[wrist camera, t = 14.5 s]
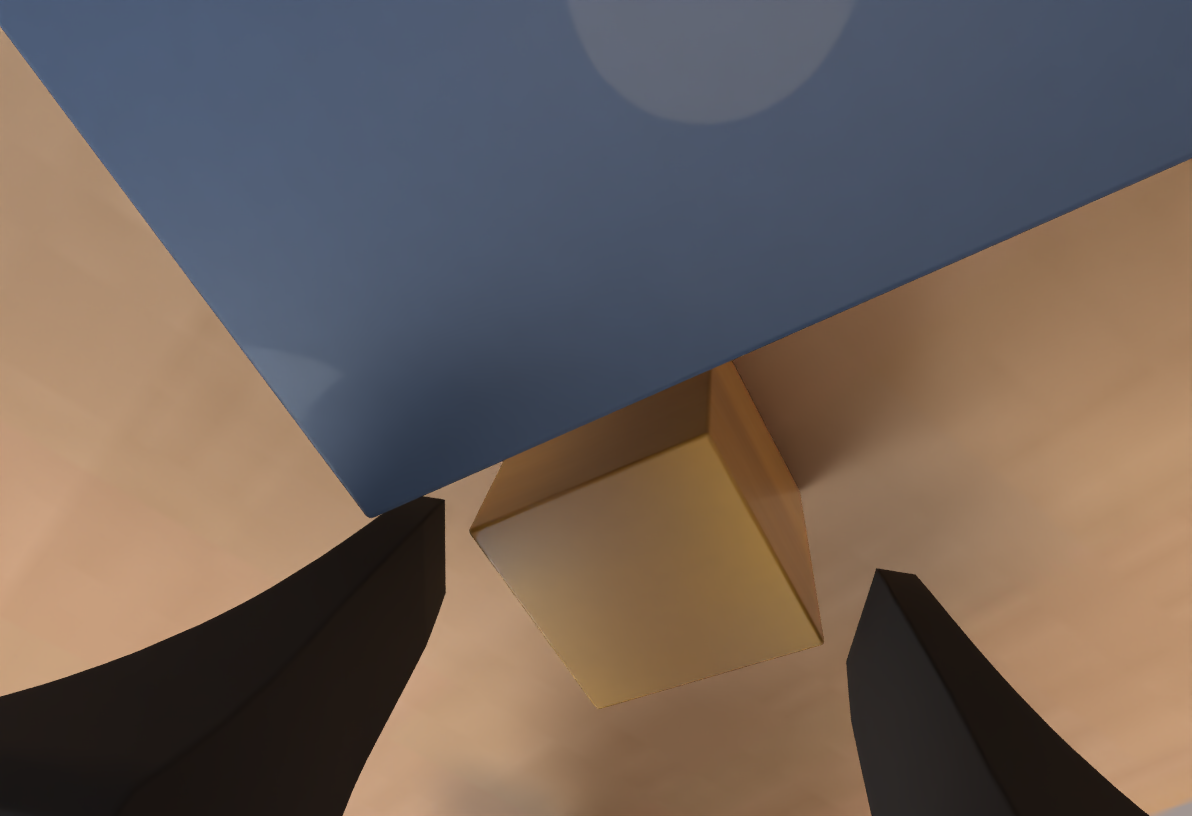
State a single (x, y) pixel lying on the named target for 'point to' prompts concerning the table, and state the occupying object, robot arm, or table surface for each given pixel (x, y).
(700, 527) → the block
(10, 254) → the table surface
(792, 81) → the lid
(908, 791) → the robot arm
